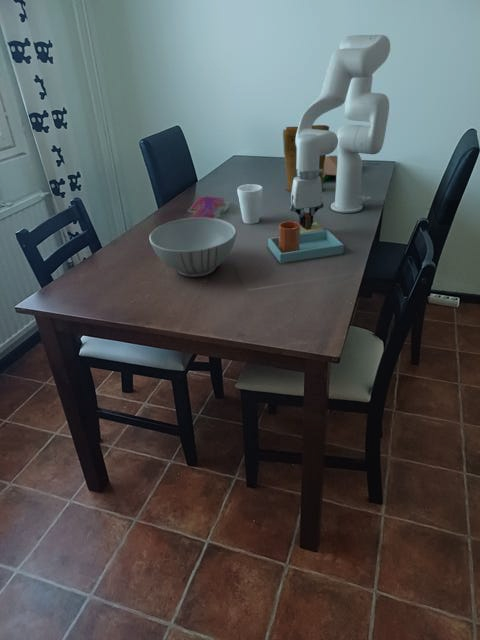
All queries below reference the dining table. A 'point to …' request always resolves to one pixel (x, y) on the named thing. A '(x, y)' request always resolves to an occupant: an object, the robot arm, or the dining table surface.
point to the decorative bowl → (194, 244)
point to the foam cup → (250, 202)
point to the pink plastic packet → (209, 207)
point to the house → (330, 166)
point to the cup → (289, 236)
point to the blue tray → (309, 246)
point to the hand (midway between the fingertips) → (306, 225)
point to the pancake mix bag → (291, 153)
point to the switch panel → (314, 228)
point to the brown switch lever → (307, 221)
